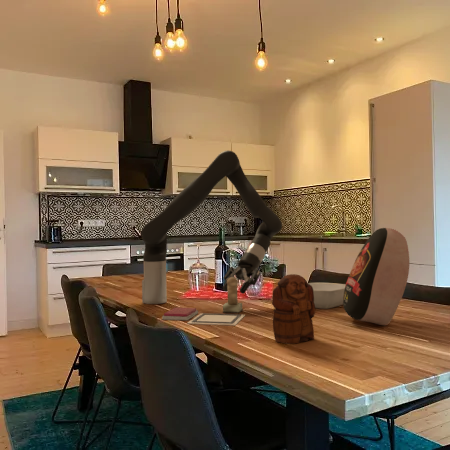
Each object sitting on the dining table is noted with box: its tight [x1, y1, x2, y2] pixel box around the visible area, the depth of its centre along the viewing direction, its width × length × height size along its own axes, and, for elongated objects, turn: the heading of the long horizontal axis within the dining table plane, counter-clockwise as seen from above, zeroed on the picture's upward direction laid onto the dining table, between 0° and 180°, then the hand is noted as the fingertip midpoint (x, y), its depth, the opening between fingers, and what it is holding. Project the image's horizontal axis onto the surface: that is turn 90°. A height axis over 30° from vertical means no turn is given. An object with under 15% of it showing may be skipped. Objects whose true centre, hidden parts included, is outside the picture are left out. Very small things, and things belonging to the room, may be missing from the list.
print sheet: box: [186, 312, 246, 327], centre depth 155 cm, size 16×16×1 cm
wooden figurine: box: [271, 273, 316, 345], centre depth 126 cm, size 12×6×18 cm, turn 120°
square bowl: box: [307, 282, 346, 310], centre depth 179 cm, size 20×20×8 cm
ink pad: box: [161, 307, 199, 321], centre depth 161 cm, size 9×12×2 cm
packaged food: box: [342, 227, 410, 326], centre depth 147 cm, size 22×20×30 cm
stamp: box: [222, 276, 243, 314], centre depth 169 cm, size 6×6×13 cm
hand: (232, 291), depth 169 cm, fingers open, 8 cm apart
